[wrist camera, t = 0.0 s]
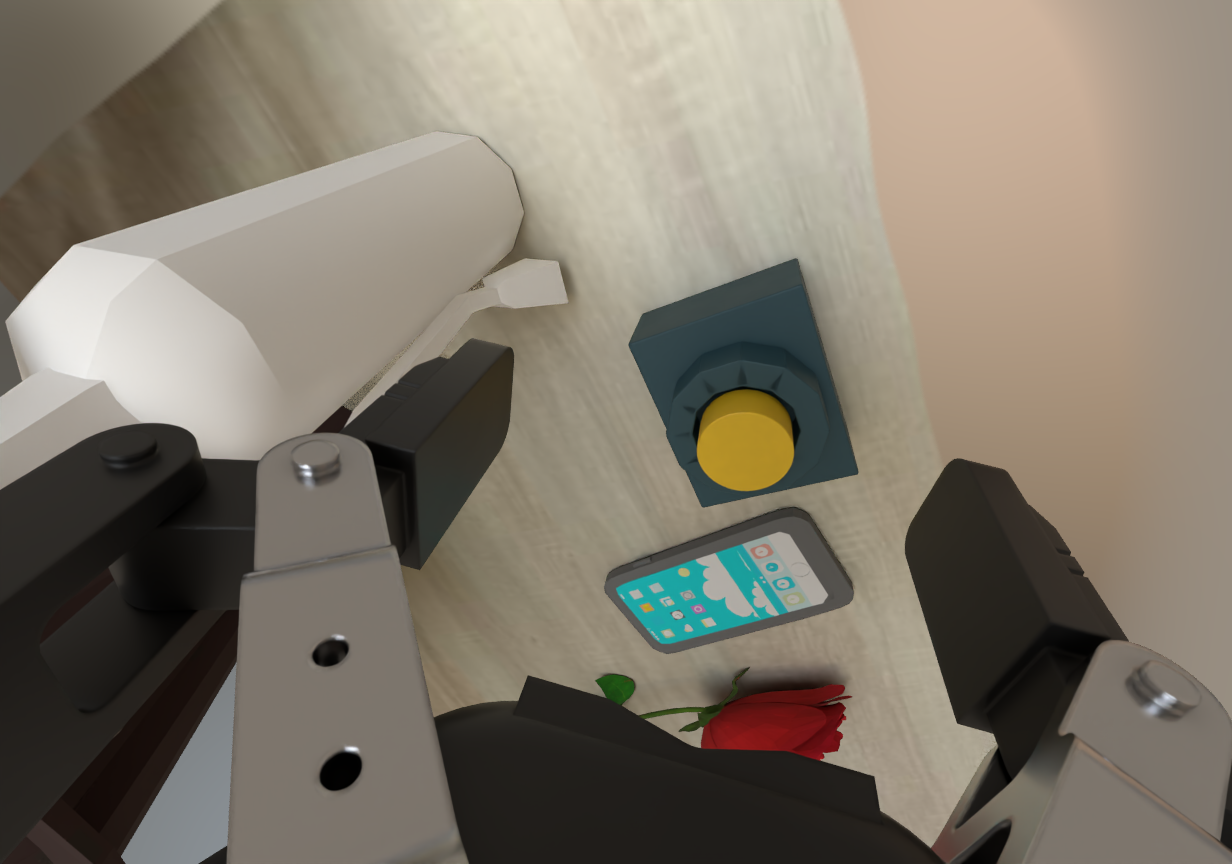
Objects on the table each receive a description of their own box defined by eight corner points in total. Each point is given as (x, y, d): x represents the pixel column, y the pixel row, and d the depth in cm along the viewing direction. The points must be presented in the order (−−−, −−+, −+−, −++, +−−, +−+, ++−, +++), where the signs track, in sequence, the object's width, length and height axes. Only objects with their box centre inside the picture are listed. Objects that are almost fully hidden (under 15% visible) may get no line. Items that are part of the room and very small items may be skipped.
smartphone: (862, 607, 36) (660, 660, 43) (859, 595, 37) (662, 648, 43) (800, 509, 33) (594, 582, 40) (799, 499, 34) (597, 572, 40)
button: (687, 403, 26) (682, 426, 24) (776, 377, 24) (778, 400, 23) (717, 473, 27) (715, 499, 26) (802, 453, 26) (805, 479, 24)
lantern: (321, 309, 34) (-895, 987, 9) (476, 494, 39) (-12, 1238, 14) (193, 406, 40) (-722, 956, 15) (341, 553, 45) (-158, 1138, 21)
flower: (475, 864, 44) (888, 826, 34) (437, 744, 44) (835, 673, 34) (530, 786, 52) (871, 739, 43) (498, 686, 53) (829, 617, 43)
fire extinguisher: (534, 343, 32) (134, 846, 11) (349, 190, 30) (-599, 479, 9) (609, 253, 29) (224, 743, 8) (406, 70, 26) (-953, 83, 5)
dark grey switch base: (641, 313, 30) (618, 362, 25) (797, 257, 27) (806, 300, 22) (707, 465, 34) (698, 533, 29) (848, 431, 31) (866, 500, 26)
